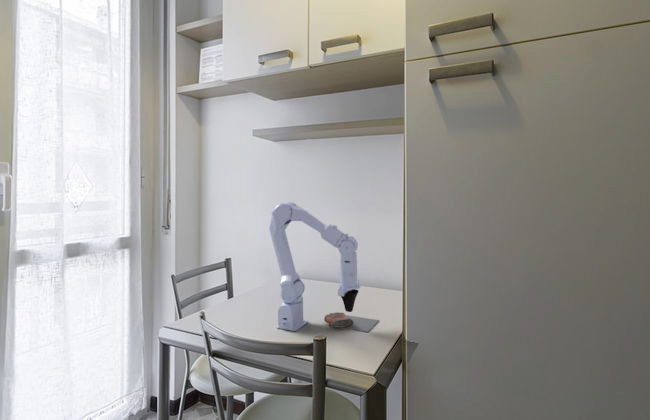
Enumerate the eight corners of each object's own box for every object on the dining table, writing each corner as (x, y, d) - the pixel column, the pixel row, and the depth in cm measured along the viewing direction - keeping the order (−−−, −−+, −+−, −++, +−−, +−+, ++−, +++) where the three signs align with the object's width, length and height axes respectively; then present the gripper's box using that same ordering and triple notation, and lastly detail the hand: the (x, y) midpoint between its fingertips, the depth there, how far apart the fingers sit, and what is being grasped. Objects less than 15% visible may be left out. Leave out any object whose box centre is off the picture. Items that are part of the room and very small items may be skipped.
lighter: (331, 321, 126) (321, 311, 136) (332, 330, 126) (321, 320, 136) (353, 317, 129) (341, 309, 138) (353, 327, 129) (341, 318, 139)
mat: (368, 332, 125) (368, 331, 125) (330, 326, 131) (330, 325, 131) (378, 320, 136) (378, 320, 136) (343, 315, 142) (343, 314, 142)
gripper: (351, 278, 119) (352, 319, 120) (366, 269, 132) (367, 306, 133) (331, 276, 122) (332, 316, 123) (348, 267, 135) (348, 303, 136)
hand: (349, 311), depth 128 cm, fingers closed
